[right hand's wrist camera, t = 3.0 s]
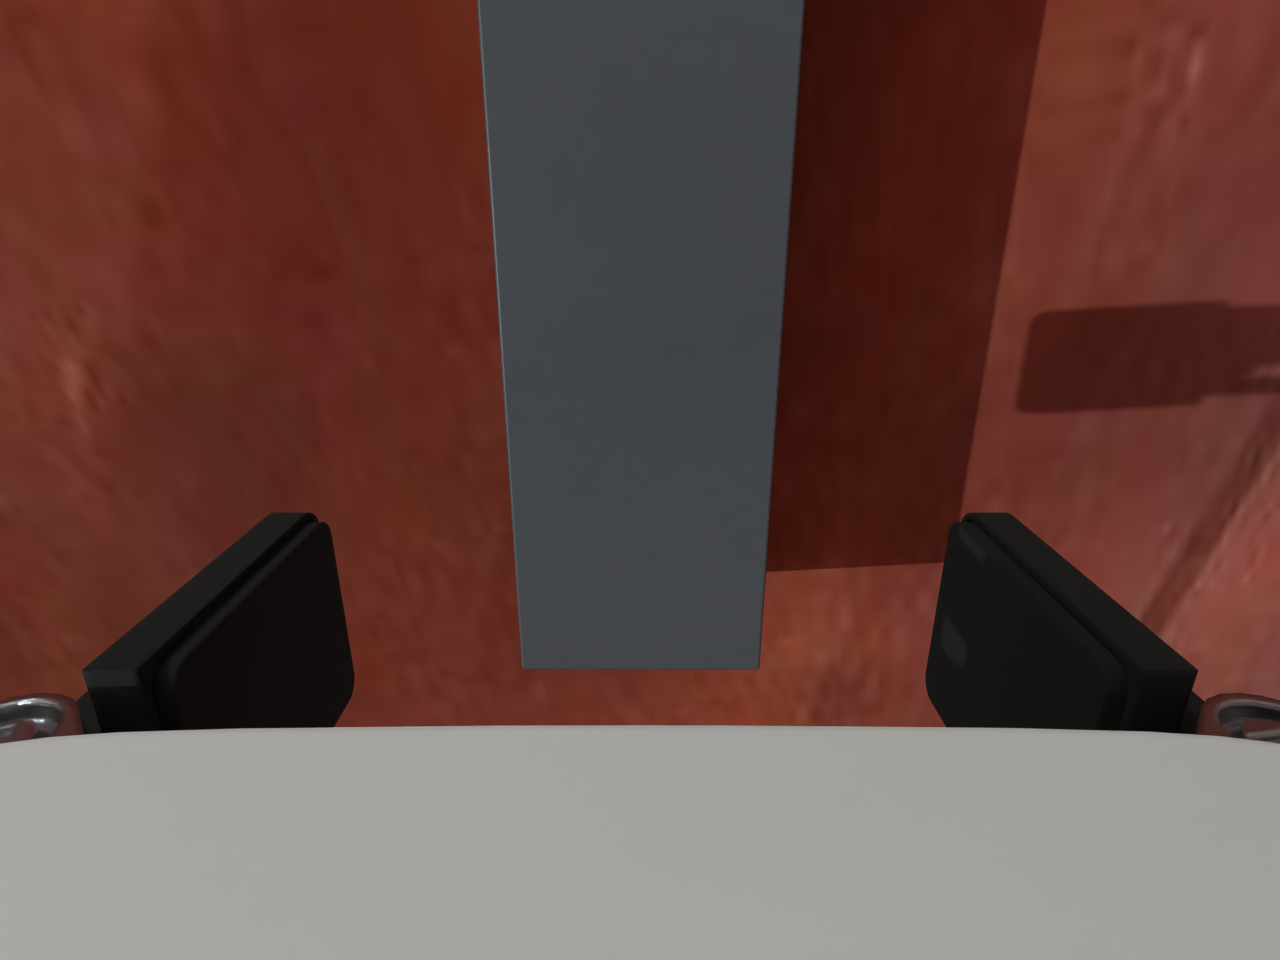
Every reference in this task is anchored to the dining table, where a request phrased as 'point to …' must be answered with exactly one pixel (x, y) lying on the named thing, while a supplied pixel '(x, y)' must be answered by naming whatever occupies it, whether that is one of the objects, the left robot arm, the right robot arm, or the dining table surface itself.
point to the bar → (640, 316)
